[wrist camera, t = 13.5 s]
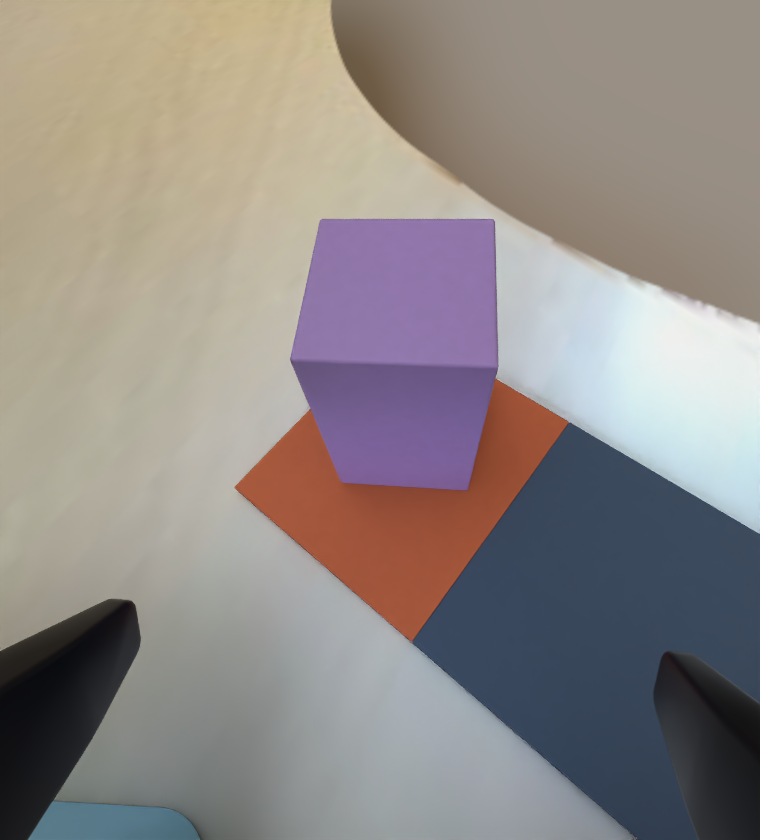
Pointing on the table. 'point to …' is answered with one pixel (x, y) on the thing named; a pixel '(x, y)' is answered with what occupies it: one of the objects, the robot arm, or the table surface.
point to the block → (400, 347)
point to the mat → (542, 588)
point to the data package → (111, 823)
